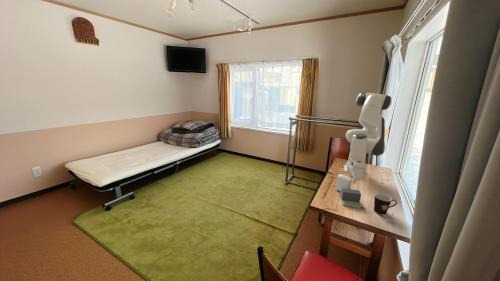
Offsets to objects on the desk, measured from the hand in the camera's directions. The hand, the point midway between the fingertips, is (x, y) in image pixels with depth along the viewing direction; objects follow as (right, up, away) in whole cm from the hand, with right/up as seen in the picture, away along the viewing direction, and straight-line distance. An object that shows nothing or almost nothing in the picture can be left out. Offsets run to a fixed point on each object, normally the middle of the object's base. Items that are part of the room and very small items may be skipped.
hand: (352, 180), depth 126 cm
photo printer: (+1, -11, +15) cm, 19 cm away
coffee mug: (+14, -18, -8) cm, 24 cm away
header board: (0, -14, +4) cm, 15 cm away
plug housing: (0, -13, +4) cm, 14 cm away
